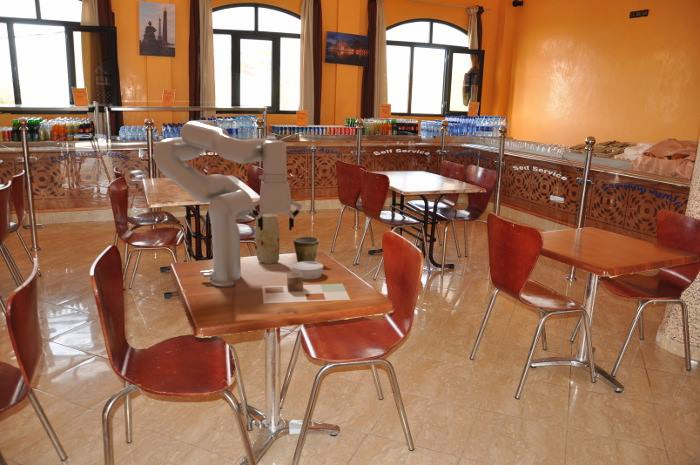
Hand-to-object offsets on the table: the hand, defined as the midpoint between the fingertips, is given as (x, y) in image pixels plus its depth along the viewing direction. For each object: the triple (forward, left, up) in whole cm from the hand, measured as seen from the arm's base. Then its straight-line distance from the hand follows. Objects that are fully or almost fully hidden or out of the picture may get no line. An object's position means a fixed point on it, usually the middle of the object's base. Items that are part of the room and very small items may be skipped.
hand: (276, 229), depth 189 cm
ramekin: (+12, +12, -22) cm, 28 cm away
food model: (-2, +34, -22) cm, 41 cm away
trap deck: (+9, -7, -22) cm, 25 cm away
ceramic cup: (+13, +32, -22) cm, 41 cm away
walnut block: (+6, -3, -20) cm, 21 cm away
